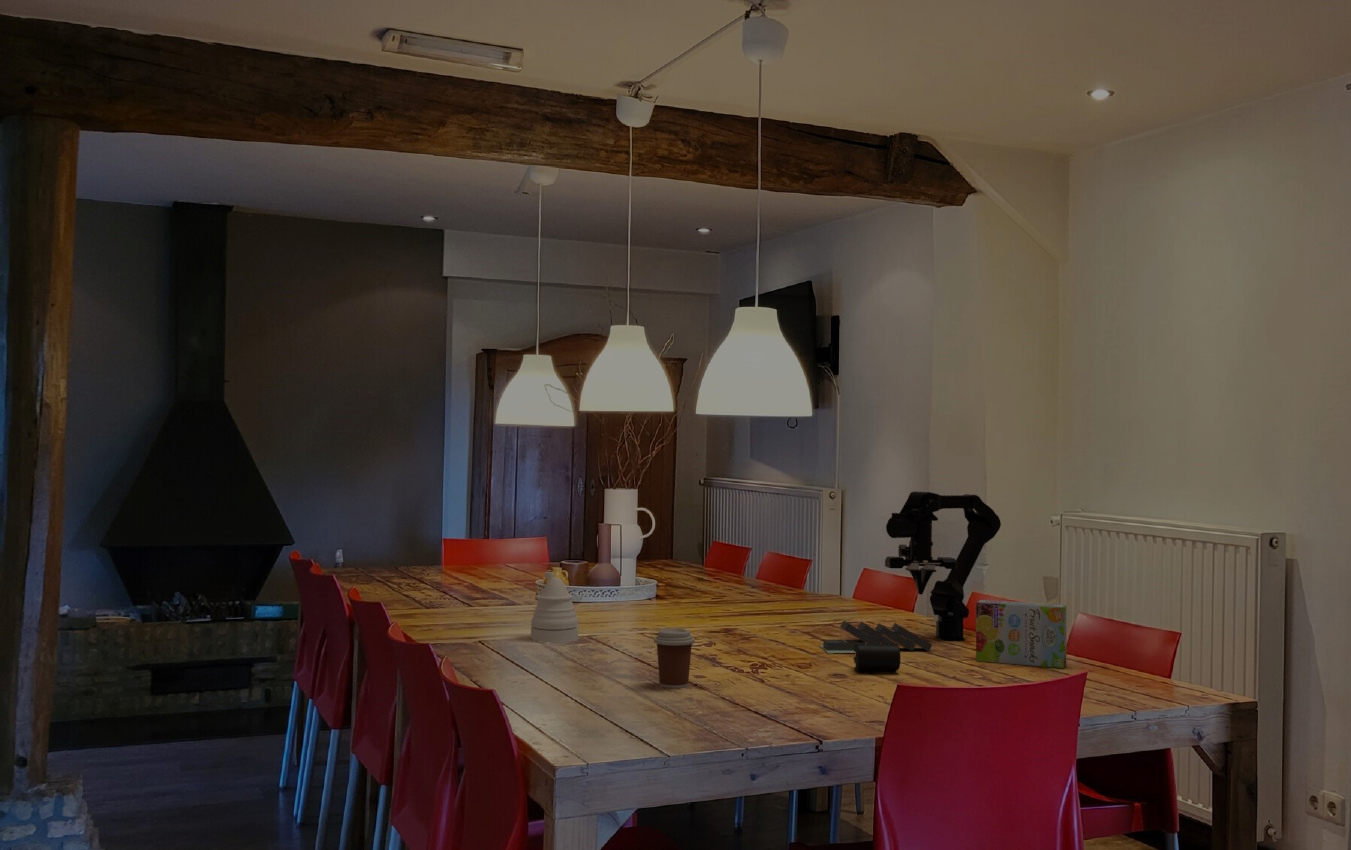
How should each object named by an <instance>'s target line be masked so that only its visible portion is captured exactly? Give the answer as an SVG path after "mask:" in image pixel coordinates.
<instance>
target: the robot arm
mask: <svg viewBox="0 0 1351 850" xmlns="http://www.w3.org/2000/svg"><path fill="white" fill-rule="evenodd" d="M903 504H904V505H903V506H902V507H901V508H902V509H900V511H899V512H892V513H891V517H890V518H888V521H887V523H886V525H885V529H886V530H885V531H886V533H887V536H889V537H890V538H891V539H905V538H906V539H908V538H910V539H909V541H908V546H907V544H899V545H898V552H897V553H898V556H886V557H885V560H884V567H886V568H889V569H903V567H905V570H906V571H908V572H909V573H910V574H911V577H912V579H913V581H914V584H915V587H916V590H917V593H918V595H920V596H922V595H923V594H924V592H925V589H926V586H927V585H928V582H929V580H930V578H931V577H932V575H933V574H934V573H936V572H937V569H936V567H940V568H944V569H946V570H950V571H949V572H948V573H949V574H948V575H947V577H946V578H945V579H944V580H937V581H936V582H935V583H934V586H933V588H932V590H931V591H930V596H929V602H930V605H931V609H932V612H933V616H937V620H936V621H935V624H936V625H935V630H936V631H935V632H936V633H935V637H937V638H938V639H940V640H943V641H965V640H966V638H965V637H964V619H968V617H969V614H970V609H969V608H968V607H967V606H966V604H965V603H964V602H963V600H964V599H965V594H964V586H965V584H966V582H967V579H968V578H969V575H970V574H971V572H972V571H973V570H972V569H973V568H974V566H975V564H976V562H977V560H978V558H979V556H980V554H981V552H982V550H983V548H984V546H985V545H986V544H987V543H988V542H990V541H992V539H993V538H994V537H996V535H997V533H998V532H999V531H1000V529H1001V525H1002V523H1001V519H1000V517H999V515H998V514H997V513H996V512H995V511H994V509H993V508H991V507H990V506H989V505H987V504H986V503H985V502H984V501H983V499H981V497H980V496H978V495H977V494H970V493H968V494H966V493H965V494H963V495H962V494H961V495H960V494H949V495H948V494H947V495H945V494H943V495H941V494H939V493H935V492H931V491H930V492H929V491H917V490H915V491H911V492H910V493H909V495H908V497H907V500H906V501H905V502H904V503H903ZM943 509H948V510H949V509H950V510H951V509H963V514H964V515H963V516H964V518H965V519H966V521H968V523H967V527H966V529H967V538H966V539H965V542H964V544H963V546H962V547H961V549H960V552H959V553H958V556H957V558H955V557H950V556H938V557H937V558H936V559H933V556H932V555H933V554H932V550H933V549H932V547H933V546H934V542H933V538H932V537H933V533H932V532H933V522H935V521H938V520H939V518H938V517H937V516H936V515H935V514H934V513H935V512H939V511H941V510H943Z"/></svg>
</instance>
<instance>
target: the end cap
mask: <svg viewBox="0 0 1351 850" xmlns="http://www.w3.org/2000/svg"><path fill="white" fill-rule="evenodd" d="M853 650H854V651H855V652H856V654H855V656H853V662H854V664H855V666H854V670H855V671H856V673H859V674H860V673H862V674H863V673H866V672H867V673H866V674H868V672H869V673H871V672H872V673H871V674H873V672H874V674H875V672H876V673H877V672H895V673H897V671H898V670H899V669H900V666H901V649H900V647H899V644H898V643H895V644H888V643H886V644H882V643H880V644H867V643H864V644H860V643H859V644H855V645H854V649H853Z"/></svg>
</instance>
